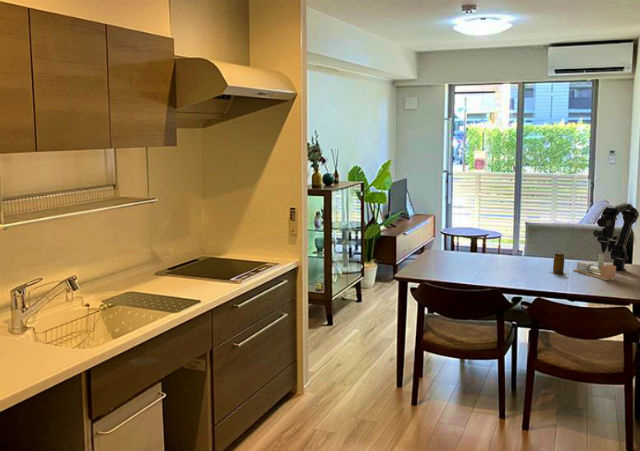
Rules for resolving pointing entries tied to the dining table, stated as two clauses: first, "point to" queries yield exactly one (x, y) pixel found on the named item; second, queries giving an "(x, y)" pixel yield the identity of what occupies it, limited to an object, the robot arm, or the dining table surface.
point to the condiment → (558, 264)
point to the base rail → (593, 274)
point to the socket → (608, 271)
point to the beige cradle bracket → (601, 262)
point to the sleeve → (583, 266)
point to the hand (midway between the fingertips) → (606, 252)
